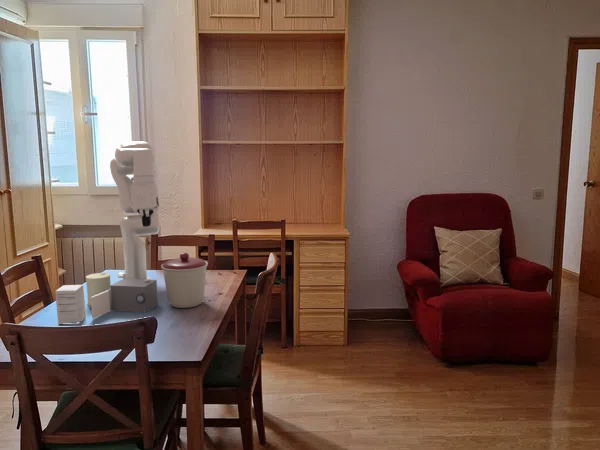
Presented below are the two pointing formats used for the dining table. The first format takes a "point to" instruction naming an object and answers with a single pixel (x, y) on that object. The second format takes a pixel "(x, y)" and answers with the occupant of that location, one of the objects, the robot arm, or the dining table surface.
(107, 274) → the can
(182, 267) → the canister
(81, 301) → the supplement box
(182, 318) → the dining table surface
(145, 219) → the robot arm
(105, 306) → the side door
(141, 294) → the block
